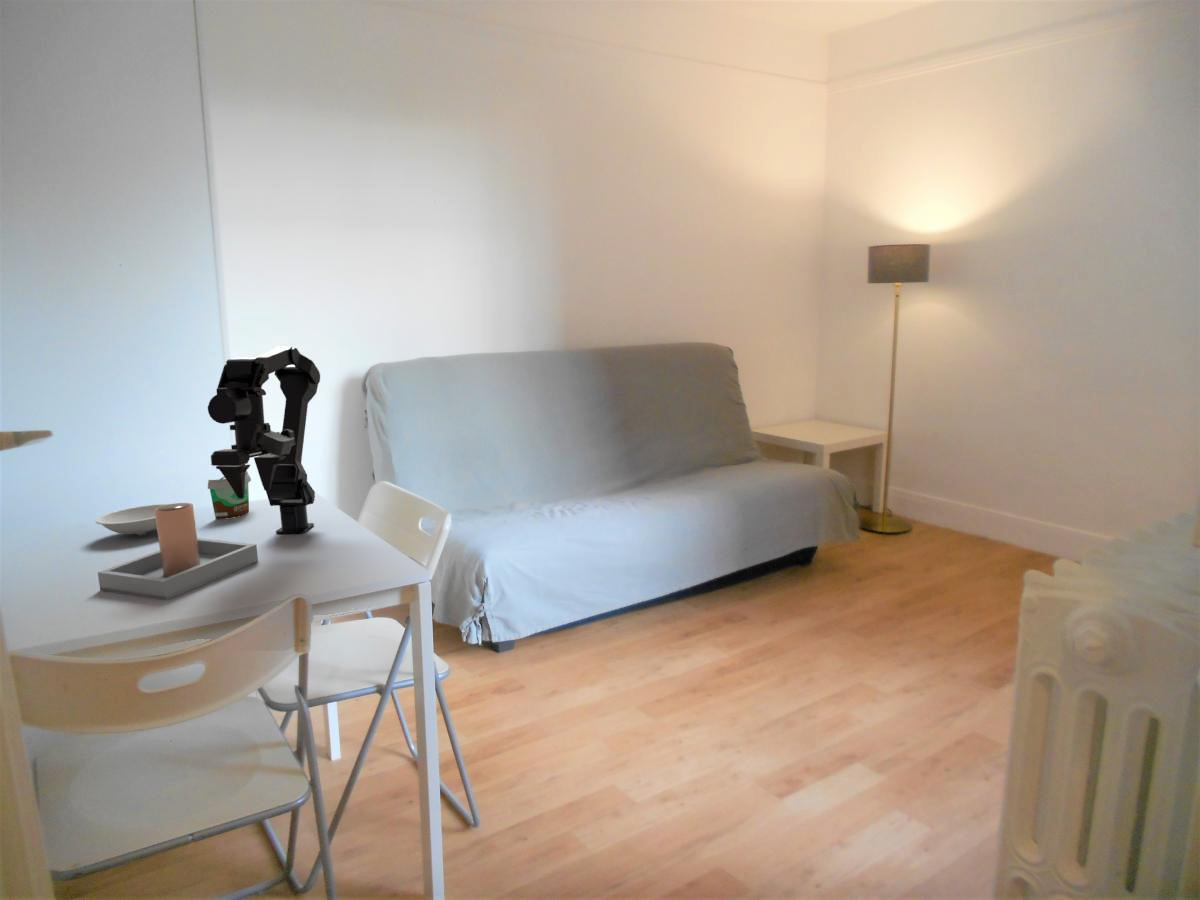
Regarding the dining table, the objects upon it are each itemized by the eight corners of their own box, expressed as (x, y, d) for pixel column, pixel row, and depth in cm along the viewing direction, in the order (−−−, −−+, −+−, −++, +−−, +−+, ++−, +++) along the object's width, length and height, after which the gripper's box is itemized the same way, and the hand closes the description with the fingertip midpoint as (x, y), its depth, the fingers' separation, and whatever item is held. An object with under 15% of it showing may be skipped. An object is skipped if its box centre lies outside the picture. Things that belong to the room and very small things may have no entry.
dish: (166, 520, 202) (164, 500, 201) (195, 530, 194) (192, 509, 193) (87, 538, 189) (84, 517, 188) (114, 549, 180) (110, 527, 179)
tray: (196, 553, 176) (194, 537, 175) (258, 560, 170) (256, 544, 169) (100, 590, 155) (97, 572, 155) (166, 600, 149) (163, 581, 149)
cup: (194, 564, 167) (186, 500, 165) (206, 571, 162) (197, 506, 160) (158, 572, 163) (149, 507, 160) (169, 580, 158) (160, 513, 155)
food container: (234, 521, 200) (229, 481, 198) (211, 520, 201) (206, 480, 199) (264, 508, 211) (260, 469, 210) (242, 507, 213) (238, 469, 211)
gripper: (258, 423, 160) (263, 503, 162) (309, 415, 178) (313, 487, 180) (206, 423, 162) (212, 502, 164) (261, 415, 180) (266, 486, 182)
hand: (254, 494), depth 173 cm, fingers open, 9 cm apart
